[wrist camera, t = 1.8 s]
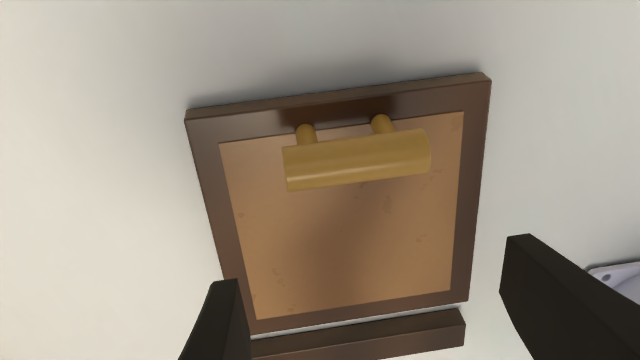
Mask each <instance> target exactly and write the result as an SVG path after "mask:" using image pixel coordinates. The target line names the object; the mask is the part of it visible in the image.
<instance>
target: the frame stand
mask: <svg viewBox="0 0 640 360" xmlns="http://www.w3.org/2000/svg"><path fill="white" fill-rule="evenodd" d="M465 328H466V323H465V321H464V319H463V317H462V315H461V313H460V311H459V309H458V308H457V309H450V310H444V311H438V312H431V313H425V314H419V315H412V316H406V317H400V318H393V319H387V320H381V321H374V322H368V323H362V324H355V325H349V326H343V327H336V328H330V329H323V330H317V331H311V332H304V333H298V334H292V335H285V336H279V337H273V338H266V339H260V340H254V341H251V355H252V360H380V359H386V358H392V357H398V356H404V355H411V354H417V353H423V352H429V351H435V350H441V349H447V348H454V347H460V346H464V337H465Z"/></svg>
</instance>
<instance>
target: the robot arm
mask: <svg viewBox="0 0 640 360" xmlns="http://www.w3.org/2000/svg"><path fill="white" fill-rule="evenodd" d="M499 293H500V296H501V298H502V300H503V303H504V305H505V308H506V310H507V312H508V314H509V317H510V319H511V321H512V323H513V325H514V327H515V329H516V331H517V332H518V334H519V336H520V337H521V339H522V341H523V343H524V344H525V346H526V348H527V349H528V351H529V353H530V354H531V356H532V357H533V359H534V360H640V261H638V262H632V263H625V264H619V265H612V266H606V267H600V268H594V269H591V270H590V271H588V272H586V271H584V270H583V269H581V268H580V267H578V266H577V265H575V264H574V263H573V262H571V261H570V260H568V259H567V258H565V257H564V256H562V255H561V254H559V253H558V252H556V251H555V250H554V249H552V248H551V247H549V246H548V245H546V244H545V243H543V242H542V241H540V240H539V239H537V238H536V237H534V236H533V235H531V234H530V233H528V234H521V235H515V236H508V237H507V242H506V248H505V255H504V262H503V268H502V275H501V282H500V289H499ZM178 360H252V355H251V338H250V329H249V325H248V321H247V317H246V313H245V308H244V304H243V300H242V296H241V292H240V287H239V283H238V279H237V278H234V279H227V280H221V281H214V282H213V283H212V284H211V285H210V288H209V291H208V293H207V296H206V299H205V302H204V304H203V307H202V309H201V312H200V314H199V316H198V319H197V321H196V323H195V325H194V328H193V330H192V332H191V334H190V336H189V338H188V340H187V342H186V344H185V346H184V349H183V351H182V353H181V355H180V356H179V358H178Z"/></svg>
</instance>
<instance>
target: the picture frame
mask: <svg viewBox="0 0 640 360" xmlns="http://www.w3.org/2000/svg"><path fill="white" fill-rule="evenodd" d="M491 84H492V81H491V79H490V78H489V77H487V76H486V75H485V74H484V73H483V72H478V73H470V74H462V75H455V76H447V77H439V78H431V79H423V80H416V81H408V82H400V83H392V84H384V85H376V86H369V87H361V88H353V89H345V90H337V91H330V92H322V93H314V94H306V95H298V96H290V97H283V98H275V99H267V100H259V101H251V102H244V103H236V104H228V105H220V106H212V107H204V108H197V109H189V110H186V114H185V118H184V124H185V128H186V131H187V135H188V139H189V143H190V147H191V151H192V155H193V159H194V163H195V167H196V171H197V175H198V179H199V183H200V187H201V191H202V195H203V199H204V202H205V206H206V210H207V214H208V218H209V222H210V226H211V230H212V234H213V238H214V242H215V246H216V250H217V254H218V258H219V262H220V266H221V270H222V273H223V277H224V280H227V279H234V278H237V279H238V283H239V287H240V292H241V296H242V300H243V304H244V308H245V313H246V317H247V321H248V325H249V329H250V335H256V334H262V333H269V332H275V331H281V330H288V329H294V328H301V327H307V326H313V325H320V324H326V323H332V322H339V321H345V320H351V319H358V318H364V317H371V316H377V315H383V314H390V313H396V312H402V311H409V310H415V309H421V308H428V307H434V306H441V305H447V304H453V303H460V302H466V301H468V298H469V289H470V280H471V270H472V261H473V252H474V242H475V233H476V224H477V214H478V205H479V196H480V186H481V177H482V168H483V158H484V149H485V140H486V131H487V121H488V112H489V103H490V93H491Z"/></svg>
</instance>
